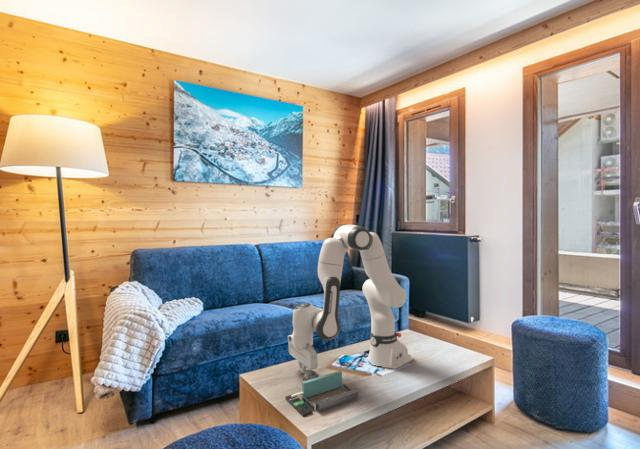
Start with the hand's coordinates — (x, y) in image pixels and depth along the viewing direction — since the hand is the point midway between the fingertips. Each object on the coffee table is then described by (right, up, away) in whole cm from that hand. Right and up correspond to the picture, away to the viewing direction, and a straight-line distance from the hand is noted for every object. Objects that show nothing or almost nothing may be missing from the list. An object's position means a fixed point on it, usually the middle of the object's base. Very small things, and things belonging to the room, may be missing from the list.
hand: (302, 371), depth 162 cm
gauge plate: (+6, -3, -15) cm, 17 cm away
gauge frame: (+9, -3, -19) cm, 21 cm away
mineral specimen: (+4, -3, -6) cm, 8 cm away
